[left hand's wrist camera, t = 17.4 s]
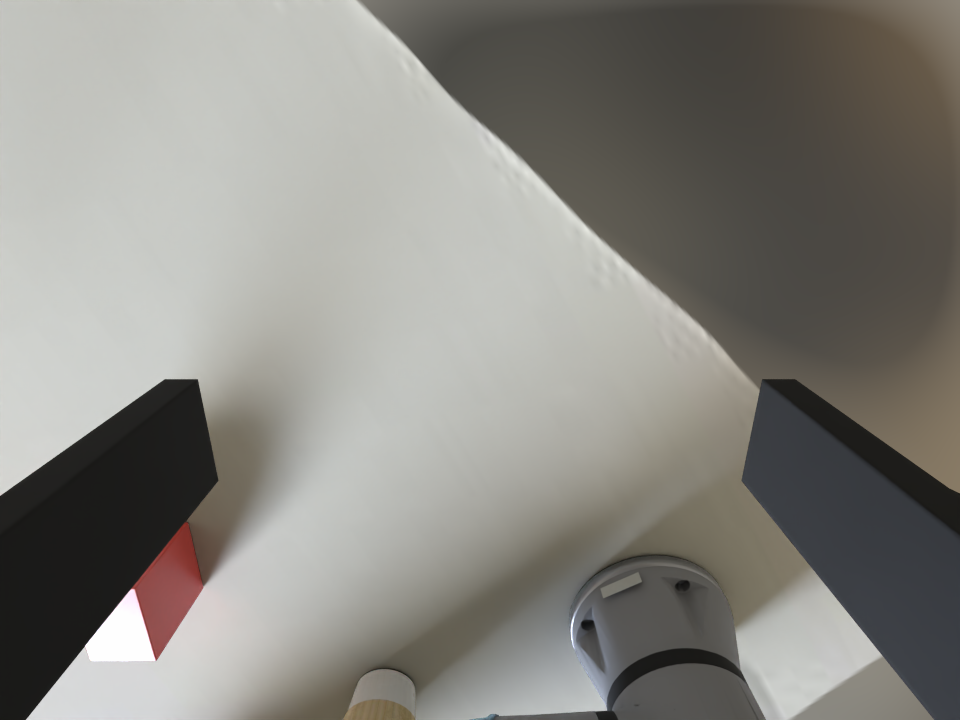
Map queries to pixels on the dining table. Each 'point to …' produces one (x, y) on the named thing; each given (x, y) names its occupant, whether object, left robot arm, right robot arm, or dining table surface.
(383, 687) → the coffee cup
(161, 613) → the block
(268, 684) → the dining table surface
